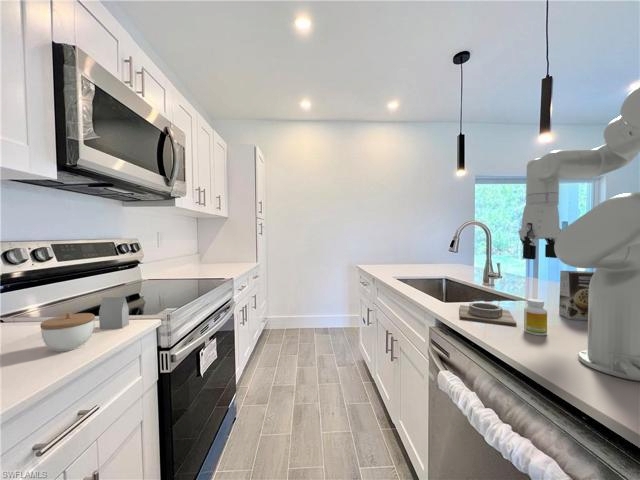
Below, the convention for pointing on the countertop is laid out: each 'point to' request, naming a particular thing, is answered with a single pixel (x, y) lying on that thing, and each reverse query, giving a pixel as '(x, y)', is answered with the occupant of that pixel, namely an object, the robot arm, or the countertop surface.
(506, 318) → the mount board
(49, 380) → the countertop surface
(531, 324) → the supplement bottle
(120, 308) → the grey gabled block
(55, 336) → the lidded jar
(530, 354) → the countertop surface
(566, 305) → the cookie box
